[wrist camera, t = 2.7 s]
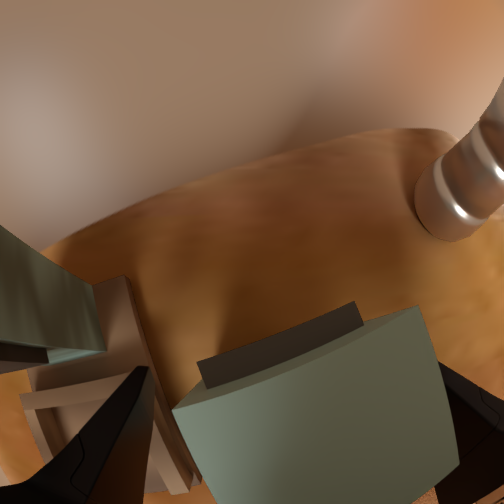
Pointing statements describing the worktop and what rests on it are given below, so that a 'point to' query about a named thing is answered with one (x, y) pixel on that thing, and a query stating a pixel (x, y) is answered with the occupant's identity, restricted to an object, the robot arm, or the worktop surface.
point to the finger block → (323, 414)
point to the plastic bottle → (465, 179)
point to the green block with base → (79, 357)
